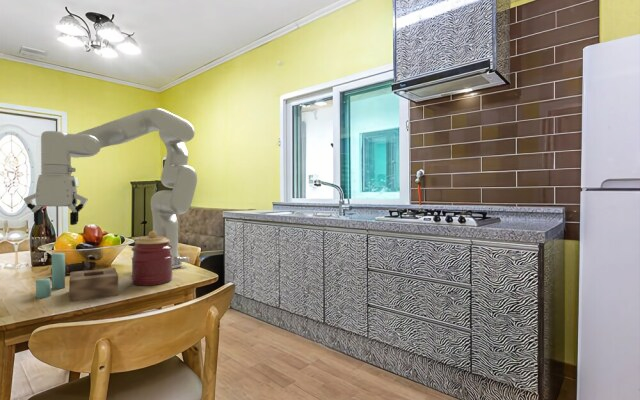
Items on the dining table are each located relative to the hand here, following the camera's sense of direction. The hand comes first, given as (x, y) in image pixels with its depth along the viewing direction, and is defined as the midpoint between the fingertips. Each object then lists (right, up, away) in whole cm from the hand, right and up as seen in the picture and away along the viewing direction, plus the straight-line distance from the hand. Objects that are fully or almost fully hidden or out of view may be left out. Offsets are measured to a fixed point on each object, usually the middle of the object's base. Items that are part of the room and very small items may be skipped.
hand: (56, 224), depth 111 cm
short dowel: (+2, -21, -8) cm, 22 cm away
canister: (+25, -21, +11) cm, 35 cm away
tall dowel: (0, -20, +1) cm, 20 cm away
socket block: (+15, -21, -4) cm, 26 cm away
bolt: (-8, -20, +21) cm, 30 cm away
